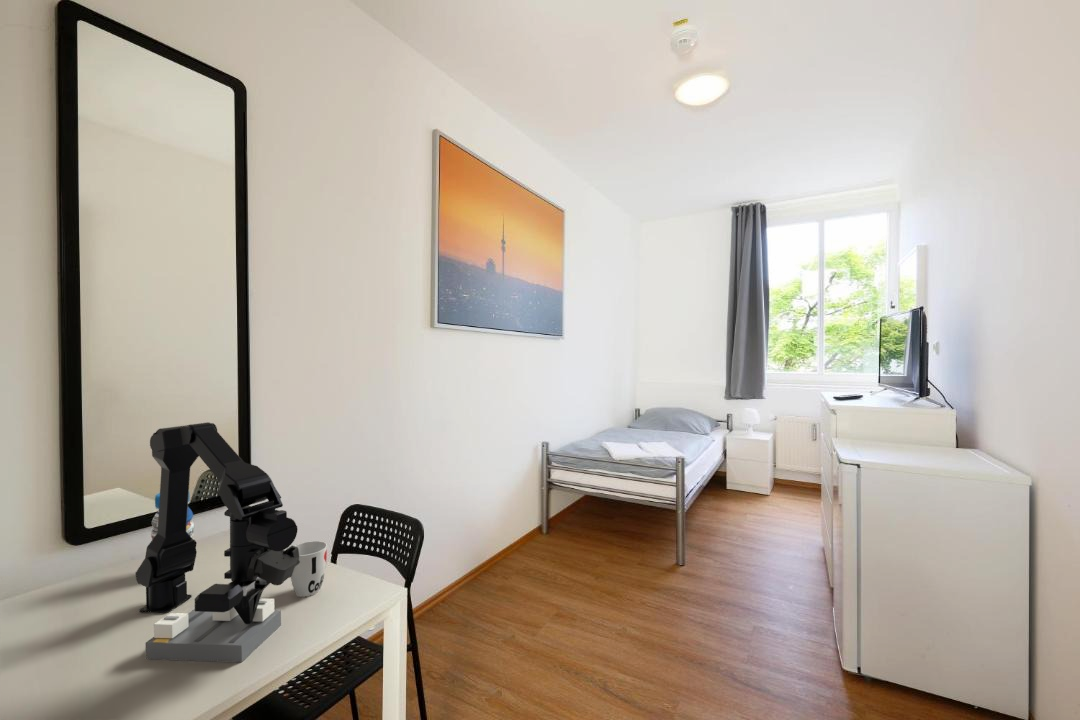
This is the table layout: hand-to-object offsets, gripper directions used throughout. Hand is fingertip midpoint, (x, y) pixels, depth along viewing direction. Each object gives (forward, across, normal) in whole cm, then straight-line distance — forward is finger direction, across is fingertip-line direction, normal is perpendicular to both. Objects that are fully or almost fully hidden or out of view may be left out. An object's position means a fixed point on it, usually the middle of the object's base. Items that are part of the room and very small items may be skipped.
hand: (248, 623), depth 85 cm
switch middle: (+1, +3, +6) cm, 7 cm away
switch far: (0, +3, 0) cm, 3 cm away
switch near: (+1, -3, +13) cm, 13 cm away
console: (+4, 0, +6) cm, 7 cm away
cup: (+4, +19, 0) cm, 19 cm away
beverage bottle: (+4, +27, +40) cm, 48 cm away
